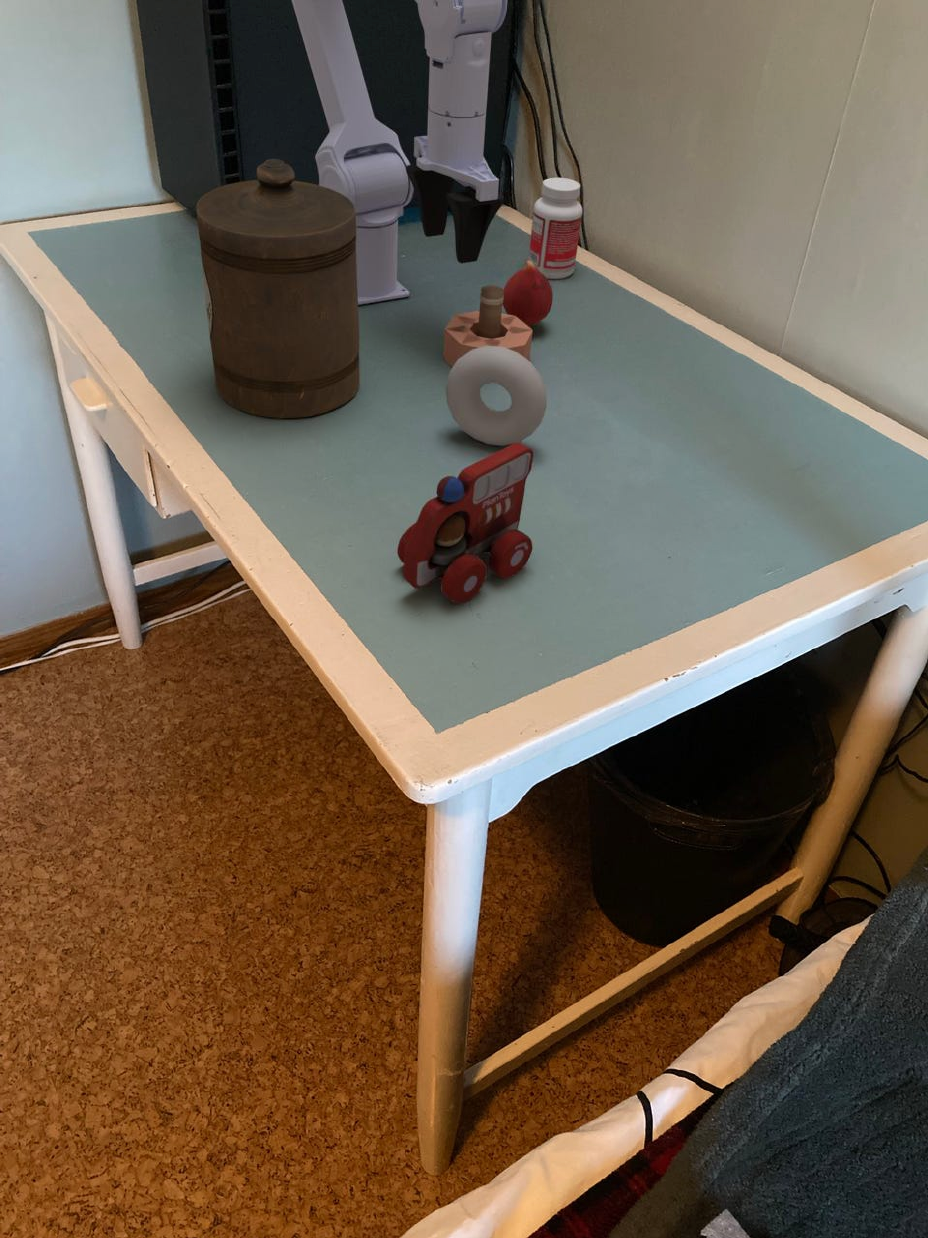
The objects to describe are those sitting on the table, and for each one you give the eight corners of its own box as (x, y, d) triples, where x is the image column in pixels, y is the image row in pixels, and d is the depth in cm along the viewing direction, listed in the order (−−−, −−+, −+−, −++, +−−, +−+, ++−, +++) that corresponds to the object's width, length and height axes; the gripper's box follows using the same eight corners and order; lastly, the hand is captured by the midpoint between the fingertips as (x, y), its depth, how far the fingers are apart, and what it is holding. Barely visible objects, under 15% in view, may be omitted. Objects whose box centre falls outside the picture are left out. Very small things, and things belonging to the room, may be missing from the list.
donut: (544, 444, 96) (557, 352, 89) (534, 462, 93) (547, 368, 86) (449, 421, 97) (455, 329, 91) (437, 438, 95) (443, 344, 88)
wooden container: (273, 336, 108) (258, 125, 93) (385, 374, 104) (388, 159, 89) (185, 391, 98) (152, 165, 83) (305, 436, 94) (293, 205, 79)
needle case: (471, 355, 108) (476, 287, 103) (490, 352, 109) (496, 283, 104) (481, 366, 106) (488, 296, 101) (501, 362, 107) (508, 293, 102)
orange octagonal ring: (432, 347, 109) (433, 318, 106) (500, 334, 112) (503, 305, 110) (470, 385, 103) (473, 355, 101) (541, 369, 107) (545, 340, 104)
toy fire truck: (378, 577, 79) (379, 471, 72) (487, 521, 86) (498, 419, 79) (433, 623, 76) (440, 516, 69) (543, 561, 82) (559, 458, 75)
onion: (549, 319, 116) (558, 254, 111) (547, 341, 112) (556, 274, 106) (501, 314, 116) (507, 248, 111) (497, 336, 112) (504, 269, 107)
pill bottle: (581, 269, 128) (595, 182, 120) (560, 284, 124) (572, 196, 116) (540, 257, 130) (551, 171, 122) (518, 271, 126) (527, 183, 118)
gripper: (388, 92, 98) (387, 228, 107) (456, 134, 89) (449, 278, 98) (449, 87, 100) (443, 220, 110) (521, 128, 91) (508, 269, 100)
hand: (450, 247), depth 104 cm, fingers open, 7 cm apart
